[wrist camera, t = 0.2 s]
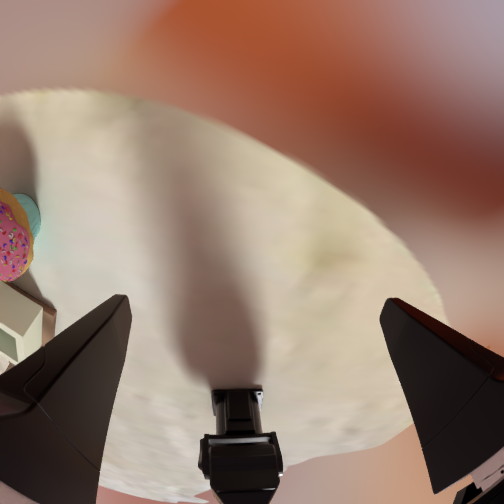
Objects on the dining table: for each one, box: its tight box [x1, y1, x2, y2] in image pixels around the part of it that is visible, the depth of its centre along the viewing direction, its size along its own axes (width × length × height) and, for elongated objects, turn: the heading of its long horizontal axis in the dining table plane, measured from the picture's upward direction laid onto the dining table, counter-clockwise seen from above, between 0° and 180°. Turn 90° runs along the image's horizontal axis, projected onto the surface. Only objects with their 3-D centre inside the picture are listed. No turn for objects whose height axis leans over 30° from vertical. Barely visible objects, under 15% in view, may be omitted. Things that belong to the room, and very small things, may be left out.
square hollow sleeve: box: [0, 280, 43, 365], centre depth 22 cm, size 7×7×5 cm
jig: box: [2, 281, 57, 371], centre depth 24 cm, size 16×10×6 cm, turn 149°
